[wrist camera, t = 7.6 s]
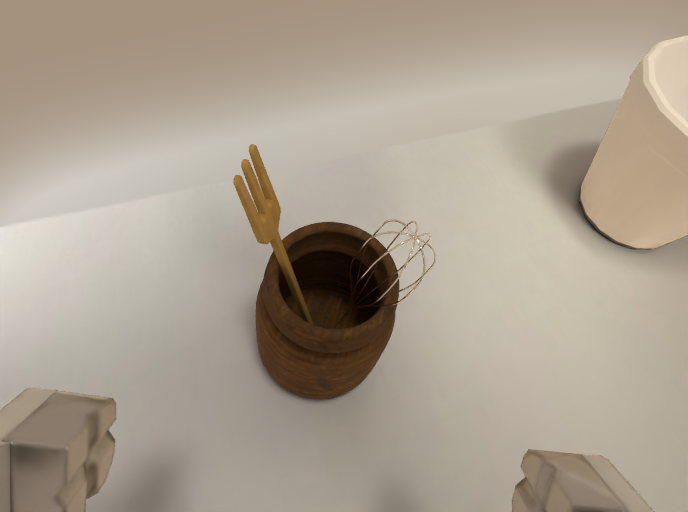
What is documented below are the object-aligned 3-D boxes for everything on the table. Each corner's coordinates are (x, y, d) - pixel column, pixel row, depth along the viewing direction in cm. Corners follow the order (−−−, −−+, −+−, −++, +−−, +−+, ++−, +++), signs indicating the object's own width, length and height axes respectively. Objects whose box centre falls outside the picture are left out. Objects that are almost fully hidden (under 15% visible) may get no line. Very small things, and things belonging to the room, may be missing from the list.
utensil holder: (363, 418, 22) (443, 315, 12) (232, 380, 22) (199, 244, 12) (388, 307, 25) (468, 148, 15) (273, 274, 25) (275, 93, 15)
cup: (730, 264, 30) (897, 165, 22) (599, 292, 27) (733, 193, 19) (642, 146, 34) (752, 29, 26) (523, 162, 32) (605, 38, 24)
